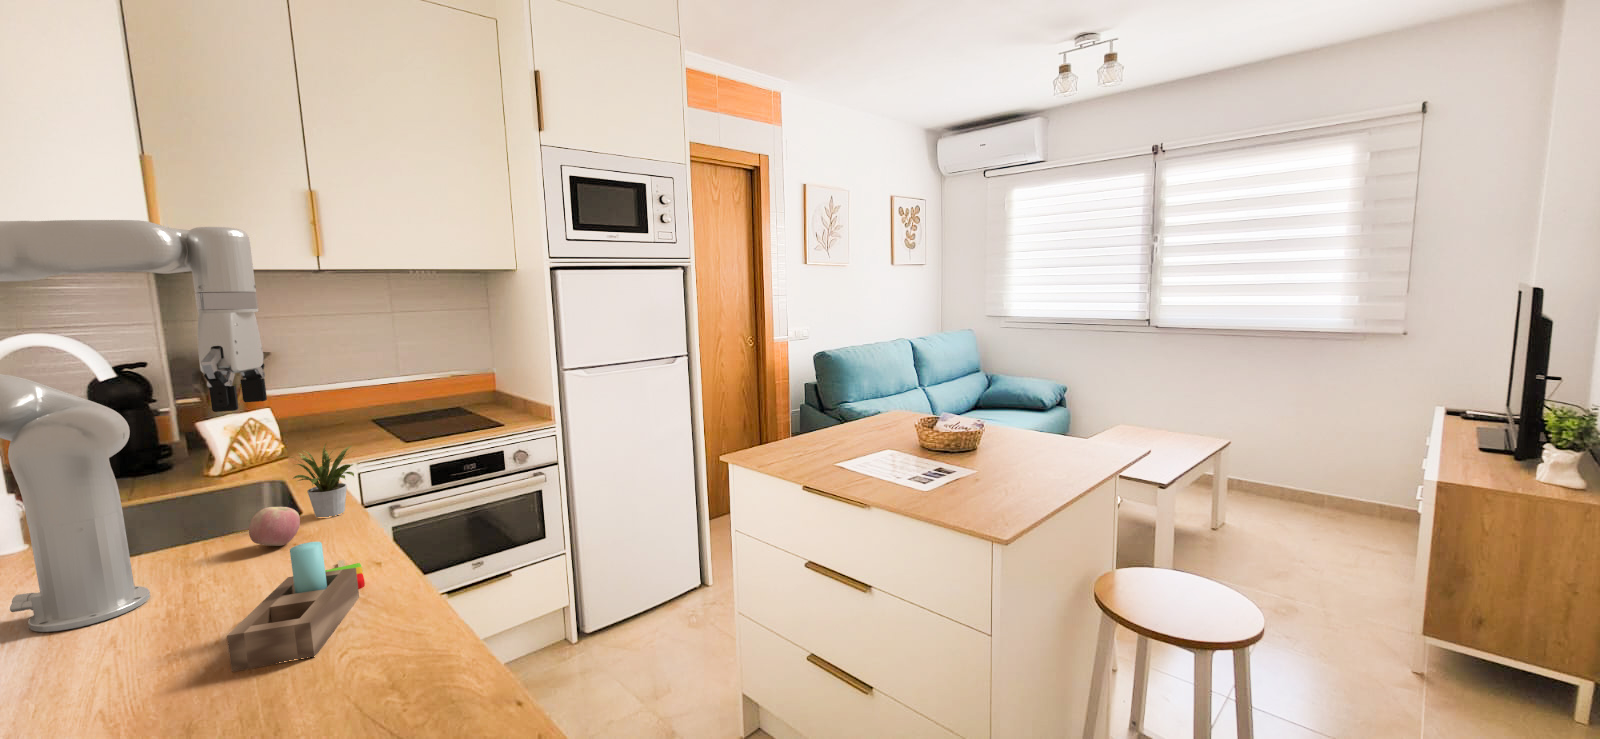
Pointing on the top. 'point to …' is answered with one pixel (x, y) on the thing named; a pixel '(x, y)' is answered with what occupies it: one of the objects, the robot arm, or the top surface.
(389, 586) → the top surface
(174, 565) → the top surface
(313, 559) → the dowel
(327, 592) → the socket block
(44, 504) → the robot arm
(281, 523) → the apple
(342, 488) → the house plant
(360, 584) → the popsicle
